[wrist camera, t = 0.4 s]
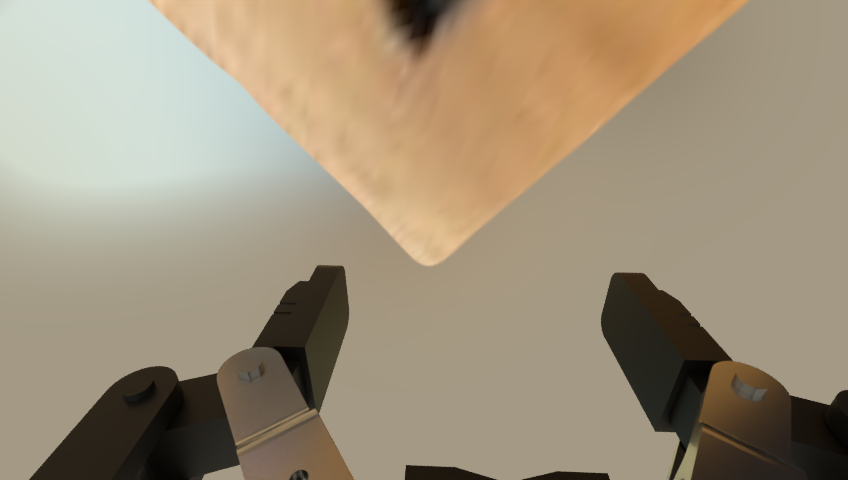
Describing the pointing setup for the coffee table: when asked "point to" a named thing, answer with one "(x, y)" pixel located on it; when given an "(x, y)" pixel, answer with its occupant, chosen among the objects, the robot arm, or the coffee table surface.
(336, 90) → the coffee table surface
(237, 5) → the coffee table surface
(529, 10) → the coffee table surface
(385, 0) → the coffee table surface
